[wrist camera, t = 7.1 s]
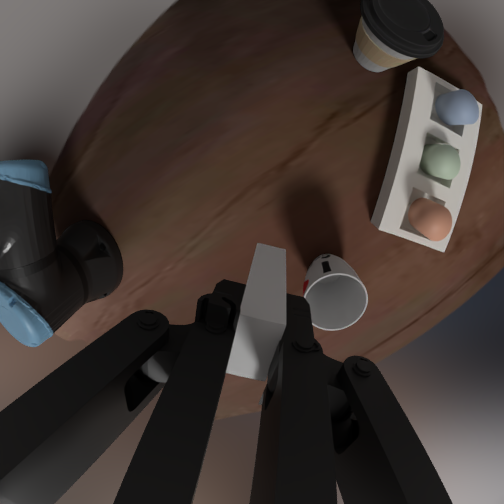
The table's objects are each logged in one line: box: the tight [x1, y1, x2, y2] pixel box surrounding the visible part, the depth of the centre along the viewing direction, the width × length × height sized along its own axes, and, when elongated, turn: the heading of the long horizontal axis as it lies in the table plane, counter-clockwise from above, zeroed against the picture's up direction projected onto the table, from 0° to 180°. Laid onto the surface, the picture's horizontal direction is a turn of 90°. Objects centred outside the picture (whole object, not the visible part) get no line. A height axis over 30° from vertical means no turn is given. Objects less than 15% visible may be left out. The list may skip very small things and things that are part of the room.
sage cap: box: [419, 144, 461, 180], centre depth 29 cm, size 5×5×5 cm
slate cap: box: [435, 89, 479, 125], centre depth 24 cm, size 5×5×5 cm
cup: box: [303, 254, 368, 330], centre depth 36 cm, size 8×8×10 cm
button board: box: [371, 66, 482, 252], centre depth 31 cm, size 12×24×4 cm, turn 167°
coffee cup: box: [353, 0, 444, 72], centre depth 21 cm, size 9×9×15 cm
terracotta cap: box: [408, 198, 452, 241], centre depth 30 cm, size 5×5×5 cm
